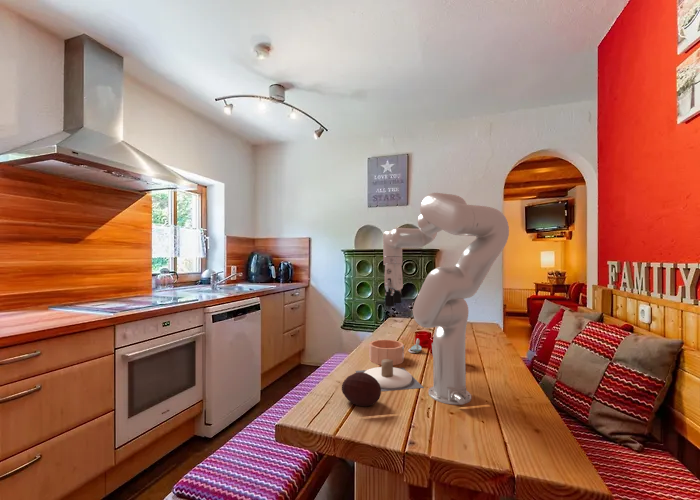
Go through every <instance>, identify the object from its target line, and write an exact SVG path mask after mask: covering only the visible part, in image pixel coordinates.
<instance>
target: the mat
mask: <svg viewBox="0 0 700 500" xmlns="http://www.w3.org/2000/svg"><path fill="white" fill-rule="evenodd" d="M398 368H399V369H403V370H405V371H407V370H406V369H405V368H404V367H398ZM366 370H367V369H365V370H362V369H361V370H355V373H358V372H363V373H364V372H365V371H366ZM424 388H425V387H424V386H423V385H422V384H421V383H420V382H419V381H418V380H417V379H416V378H415V377H414V376H413V375H412V382H411V384H409V385H408V386H406V387H402V388H397V389H384V388H381V392H389V391H390V392H391V391H401V390H403V391H404V390H415V389H416V390H417V389H424Z"/></svg>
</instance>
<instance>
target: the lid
mask: <svg viewBox="0 0 700 500" xmlns="http://www.w3.org/2000/svg"><path fill="white" fill-rule="evenodd" d="M399 368H400V367H394V365H393V360H390V359H383V360H382V361H381V365H380V366H379V367H378V366H377V367H372V368H368V369H365V370H366V371H365V372H364V373H367V374H369V375H371V376H372V377H374V378H375V379H376V380H377V381H378V383H379V384H380V387H381V388H384V389H397V388H402V387H406V386H408V385H409V384H411V382H412V376H413V375H412V373H411V372H409V371H408V370H406V369H405V370H406V371H405V370H403V369H399Z"/></svg>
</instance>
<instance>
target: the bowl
mask: <svg viewBox="0 0 700 500" xmlns="http://www.w3.org/2000/svg"><path fill="white" fill-rule="evenodd" d="M404 344H405V343H403V342H401V341H399V340H395V339H376V340H373V341H370V342H369V343H368V349H369V350H368V356H369V358H368V359H369V360H370V362H372V363H373V364H375V365H380V366H381V361H382V360H383V359H390V360H393V366H396V365H400V364H402V363H403V362H404V360H405V345H404Z"/></svg>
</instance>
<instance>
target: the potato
mask: <svg viewBox="0 0 700 500" xmlns="http://www.w3.org/2000/svg"><path fill="white" fill-rule="evenodd" d="M341 392H342V394H343V396H344V397H345V398H346V399H347V401H349V402H350V403H351V404H353V405H356V406H358V407H368V406H369V407H370V406H373V405H374V404H376V403H377V402H378V401H379V400H380V397H381V395H382V391H381V387H380V384H379V383H378V381H377V380H376V379H375V378H374V377H372V376H371V375H369V374H367V373H363V372H358V373H356V372H354V373H352V374H350V375H348V376H347V377H346V378H345V379H344V380H343V383H342V385H341Z"/></svg>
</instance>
